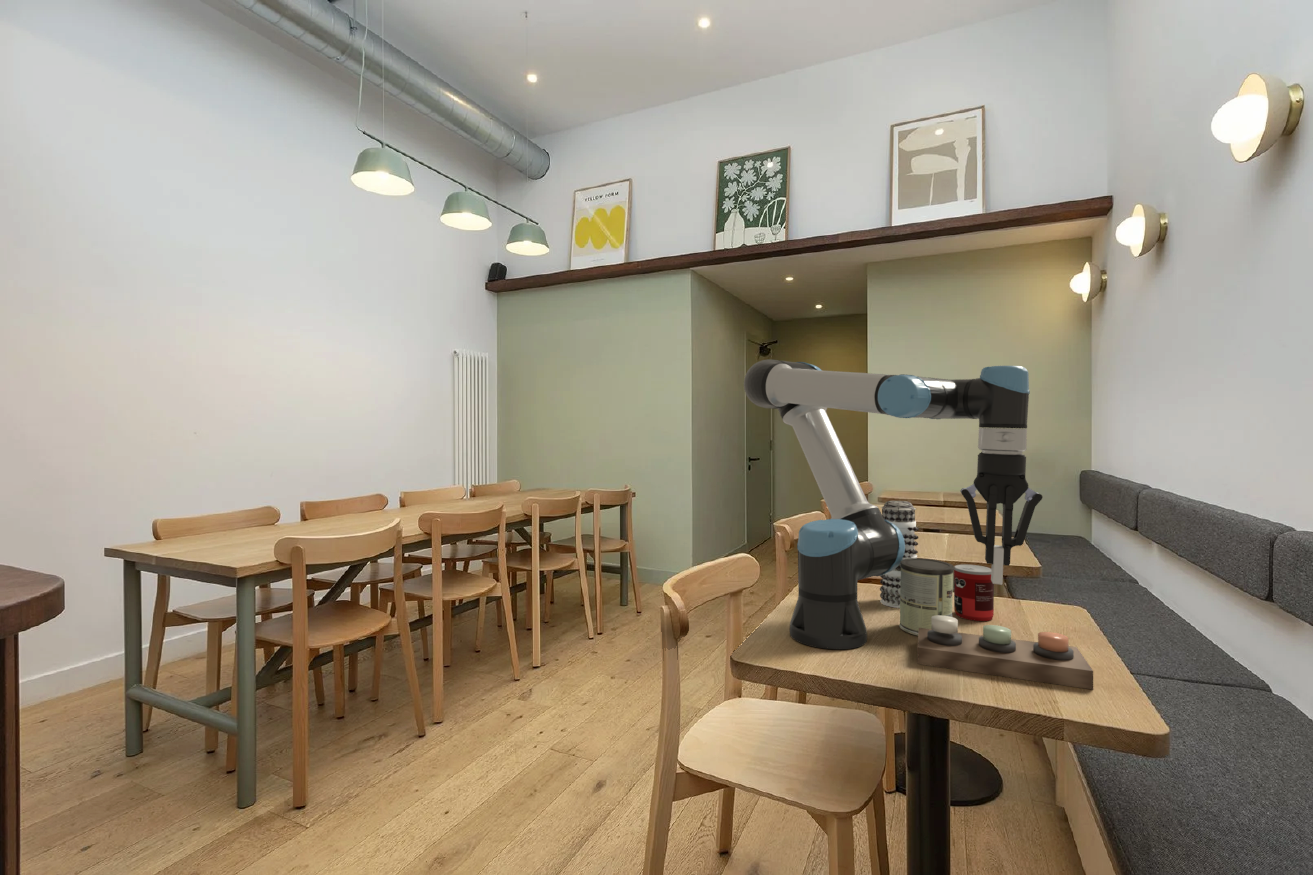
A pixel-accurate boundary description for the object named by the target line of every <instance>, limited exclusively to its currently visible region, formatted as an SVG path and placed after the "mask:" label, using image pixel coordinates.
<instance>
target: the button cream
mask: <svg viewBox="0 0 1313 875" xmlns="http://www.w3.org/2000/svg"><path fill="white" fill-rule="evenodd" d="M931 624H932V630H934V631H937V632H940V633H947V634H953V633H957V632H958V633H959V630H958V629H959V620H958V619H957V618H956V617H953V616H952V617H949V616H942V615H936V616H932V617H931Z"/></svg>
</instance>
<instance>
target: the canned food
mask: <svg viewBox="0 0 1313 875" xmlns="http://www.w3.org/2000/svg"><path fill="white" fill-rule="evenodd" d="M953 566H954V571H953V609H954V613H955V614H954V615H956V616H957V617H959V618H962V619H965V620H969V621H973V620H974V621H975V622H989V621H992V620H993V618H994V614H995V613H994V612H995V611H994V610H995V609H994V604H995V603H994V602H995V601H994V596H995V595H994V592H995V590H994V589H995V588H994V587H995V586H994V585H995V584H993V583H992V581H991V569H992V567H991V568H990V567H987V566H984V565H983V566H982V565H978V564H977V565H975V564H956V565H953Z"/></svg>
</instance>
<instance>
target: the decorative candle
mask: <svg viewBox="0 0 1313 875" xmlns="http://www.w3.org/2000/svg"><path fill="white" fill-rule="evenodd" d="M880 508H881V514H882V516H883V518H884V520H887V521H889V522H891V523H893V524H895V525H896V526H897V527H898V528H899V530H900V531H901V533H902V535H903V538H904V542H905V553H904V556H903V559H909V558H918V550H916V549H915V547H917V546H919V543H918V542H917V541H916V540H918V539H919V536H918V535H917V534H915V532H918V531H919V530H920V528H919V527H917V521H916V510H917V508H915V507H914V505H913V504H912V503H911V502H910V501H904V500H888V501H886V502H885V503H884V505H883V506H881V507H880ZM903 559H902V560H903ZM879 577H880V578H881V579H880V581H879V583H880V584H881V586H880V588H879V591H880V594H879V596H880V598H881V599H880V600H879V601H880V603H882V604H881V605H884V606H886V607H889V608H894V609H900V589H901V564H899V565H898V567H896V568H895V569H894V570H892V571H890V572H887V573H886V574H883V575H881V576H879Z"/></svg>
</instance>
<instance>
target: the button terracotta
mask: <svg viewBox="0 0 1313 875" xmlns="http://www.w3.org/2000/svg"><path fill="white" fill-rule="evenodd" d="M1069 639H1070V638H1069V637H1068V636H1066V635H1065V634H1061V633H1058V632H1052V631H1040V632H1038V633H1037V642H1038V646H1039V647H1041V648H1043V649H1045V650H1049V651H1054V652H1067V651H1068V650H1069V646H1070V645H1069Z"/></svg>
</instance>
